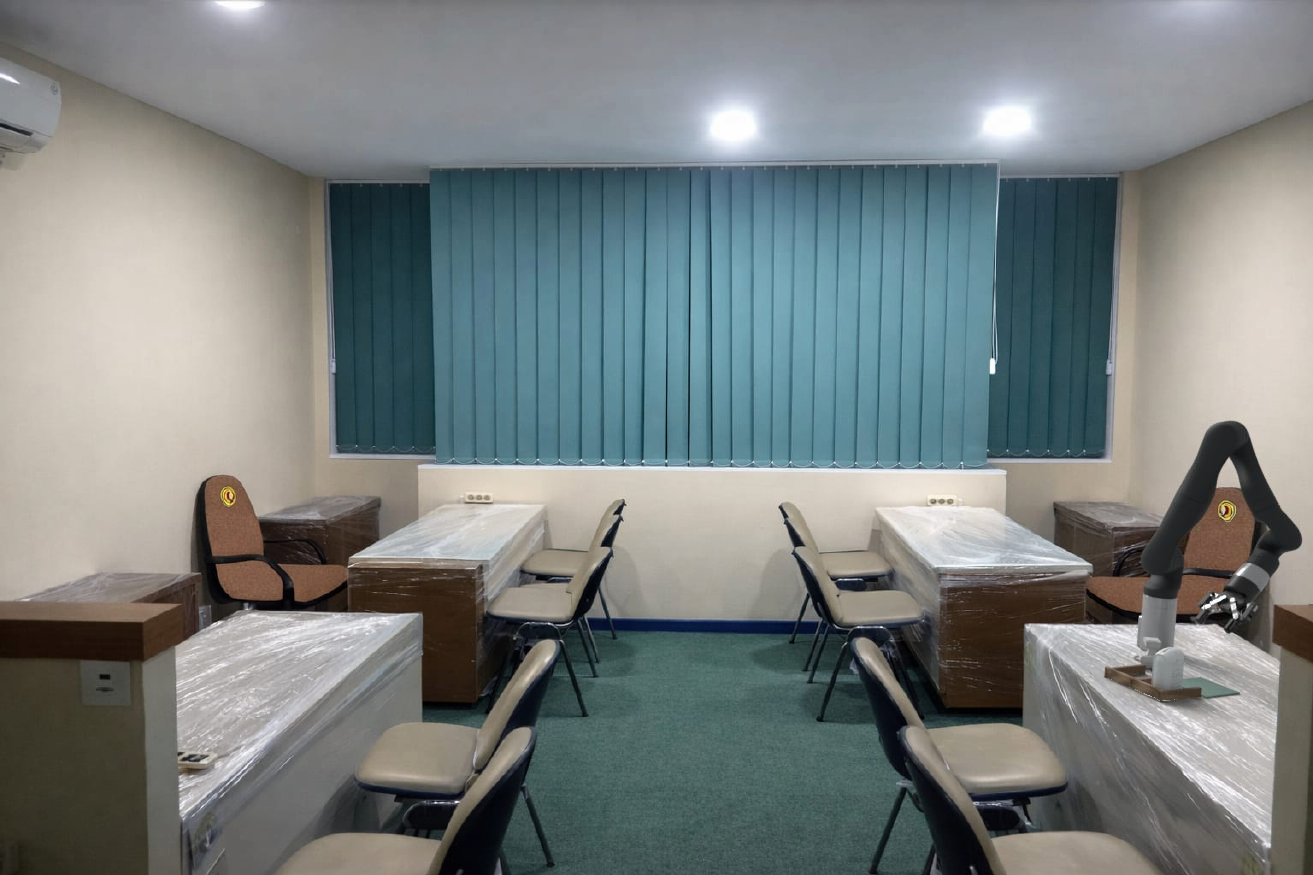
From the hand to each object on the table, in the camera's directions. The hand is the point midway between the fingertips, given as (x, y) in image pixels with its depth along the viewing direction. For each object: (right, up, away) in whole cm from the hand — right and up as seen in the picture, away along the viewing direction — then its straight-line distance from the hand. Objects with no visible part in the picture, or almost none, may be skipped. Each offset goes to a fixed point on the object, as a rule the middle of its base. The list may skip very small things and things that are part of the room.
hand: (1212, 626), depth 243 cm
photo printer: (-14, -17, -3) cm, 23 cm away
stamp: (-7, -16, +17) cm, 24 cm away
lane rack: (-16, -17, +1) cm, 23 cm away
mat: (-2, -17, +1) cm, 17 cm away
